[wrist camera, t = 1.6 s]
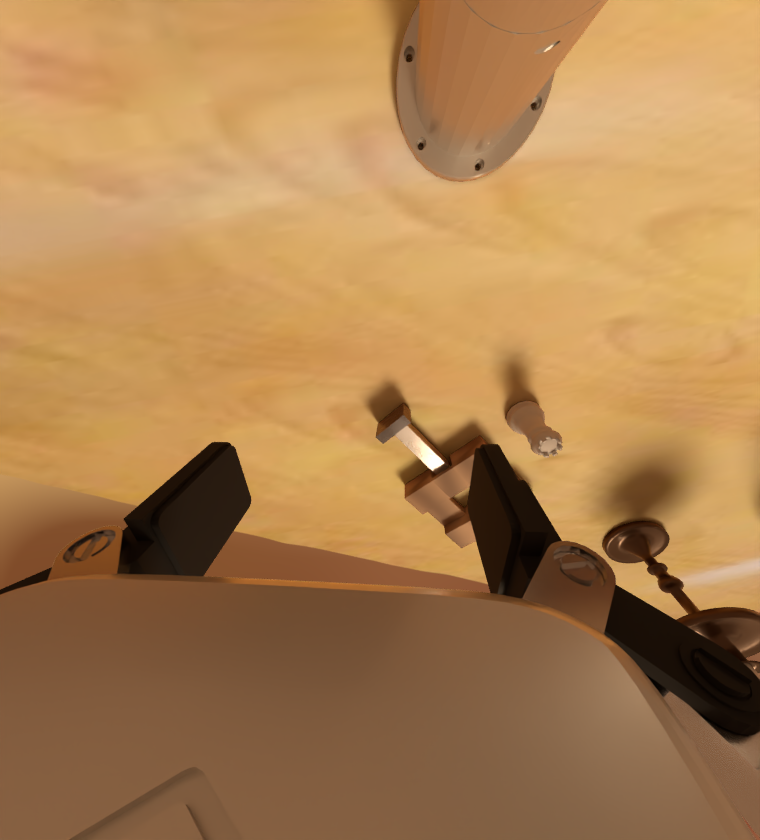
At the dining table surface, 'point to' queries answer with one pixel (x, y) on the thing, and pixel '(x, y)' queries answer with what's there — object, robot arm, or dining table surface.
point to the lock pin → (411, 438)
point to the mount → (447, 494)
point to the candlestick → (722, 626)
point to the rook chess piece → (534, 428)
